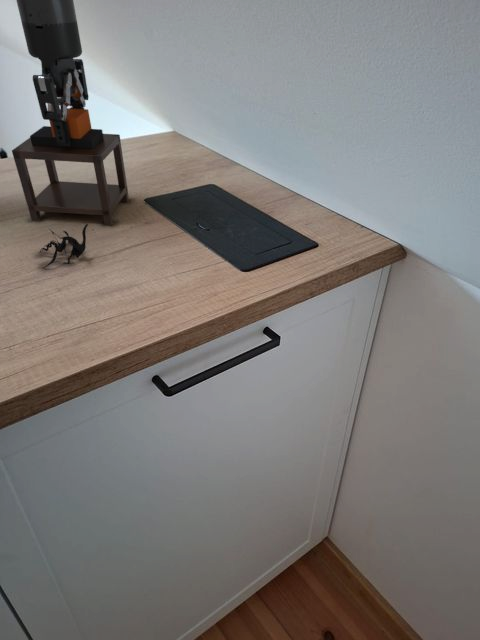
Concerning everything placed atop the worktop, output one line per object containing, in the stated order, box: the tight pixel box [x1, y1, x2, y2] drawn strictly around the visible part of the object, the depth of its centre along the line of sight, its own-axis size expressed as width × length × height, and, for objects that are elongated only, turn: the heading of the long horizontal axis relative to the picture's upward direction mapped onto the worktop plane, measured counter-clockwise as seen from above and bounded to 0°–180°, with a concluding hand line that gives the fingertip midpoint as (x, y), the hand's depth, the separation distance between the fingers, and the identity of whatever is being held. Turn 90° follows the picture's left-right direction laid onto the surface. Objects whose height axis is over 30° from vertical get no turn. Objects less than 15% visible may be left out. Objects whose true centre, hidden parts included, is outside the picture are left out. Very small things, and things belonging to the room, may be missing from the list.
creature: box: [39, 223, 89, 269], centre depth 74 cm, size 8×5×8 cm
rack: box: [11, 133, 130, 227], centre depth 85 cm, size 14×11×12 cm
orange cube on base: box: [29, 107, 104, 149], centre depth 79 cm, size 10×6×4 cm, turn 86°
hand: (73, 138), depth 80 cm, fingers open, 7 cm apart
